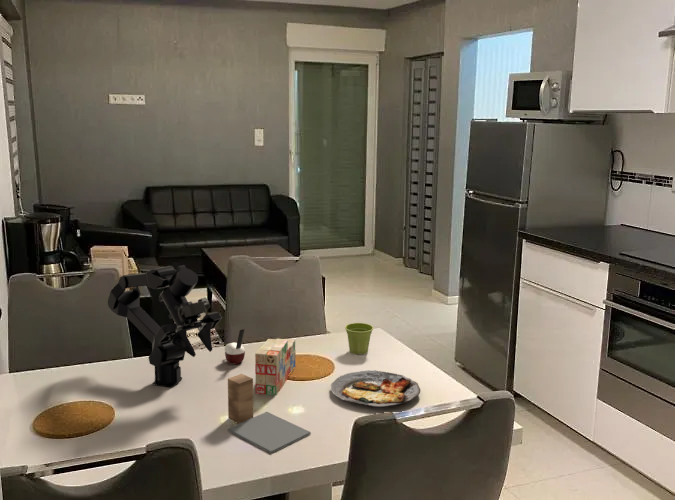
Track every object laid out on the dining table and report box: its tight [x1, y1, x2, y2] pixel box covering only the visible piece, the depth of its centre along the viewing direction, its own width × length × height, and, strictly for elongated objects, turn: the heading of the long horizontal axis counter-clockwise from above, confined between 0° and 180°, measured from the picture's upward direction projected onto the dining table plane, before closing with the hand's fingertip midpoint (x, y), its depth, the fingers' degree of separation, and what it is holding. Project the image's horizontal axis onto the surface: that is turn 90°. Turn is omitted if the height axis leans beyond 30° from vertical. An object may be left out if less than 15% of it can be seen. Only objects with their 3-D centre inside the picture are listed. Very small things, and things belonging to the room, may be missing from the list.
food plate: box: [330, 370, 421, 408], centre depth 181 cm, size 25×23×4 cm
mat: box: [227, 411, 312, 455], centre depth 157 cm, size 16×13×1 cm
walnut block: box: [227, 373, 254, 424], centre depth 163 cm, size 4×4×11 cm
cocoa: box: [224, 328, 246, 365], centre depth 201 cm, size 10×6×12 cm, turn 16°
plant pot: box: [344, 322, 374, 356], centre depth 213 cm, size 9×9×9 cm
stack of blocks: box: [254, 338, 296, 396], centre depth 188 cm, size 21×6×12 cm, turn 169°
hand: (203, 353), depth 172 cm, fingers open, 5 cm apart
